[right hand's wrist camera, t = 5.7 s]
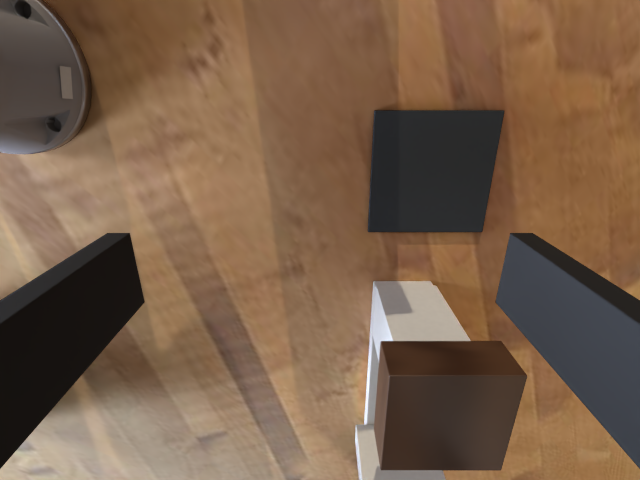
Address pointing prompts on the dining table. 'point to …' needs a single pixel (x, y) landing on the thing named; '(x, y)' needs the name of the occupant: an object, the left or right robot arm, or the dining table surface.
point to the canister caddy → (400, 325)
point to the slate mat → (432, 170)
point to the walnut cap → (445, 404)
